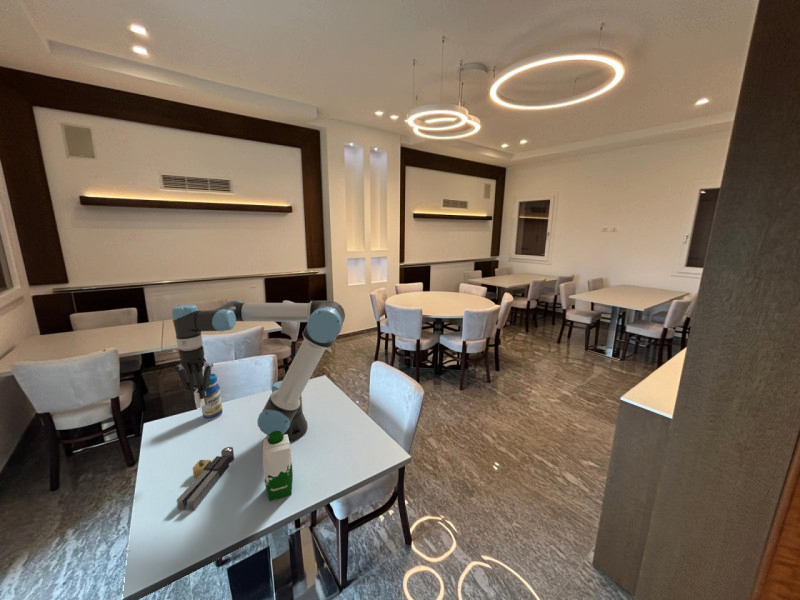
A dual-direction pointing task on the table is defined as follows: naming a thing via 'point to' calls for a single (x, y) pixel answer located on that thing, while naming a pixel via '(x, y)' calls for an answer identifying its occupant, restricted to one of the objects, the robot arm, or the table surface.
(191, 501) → the base
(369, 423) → the table surface
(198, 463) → the block
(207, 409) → the beverage bottle
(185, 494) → the tong arm
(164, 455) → the table surface
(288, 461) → the milk carton
